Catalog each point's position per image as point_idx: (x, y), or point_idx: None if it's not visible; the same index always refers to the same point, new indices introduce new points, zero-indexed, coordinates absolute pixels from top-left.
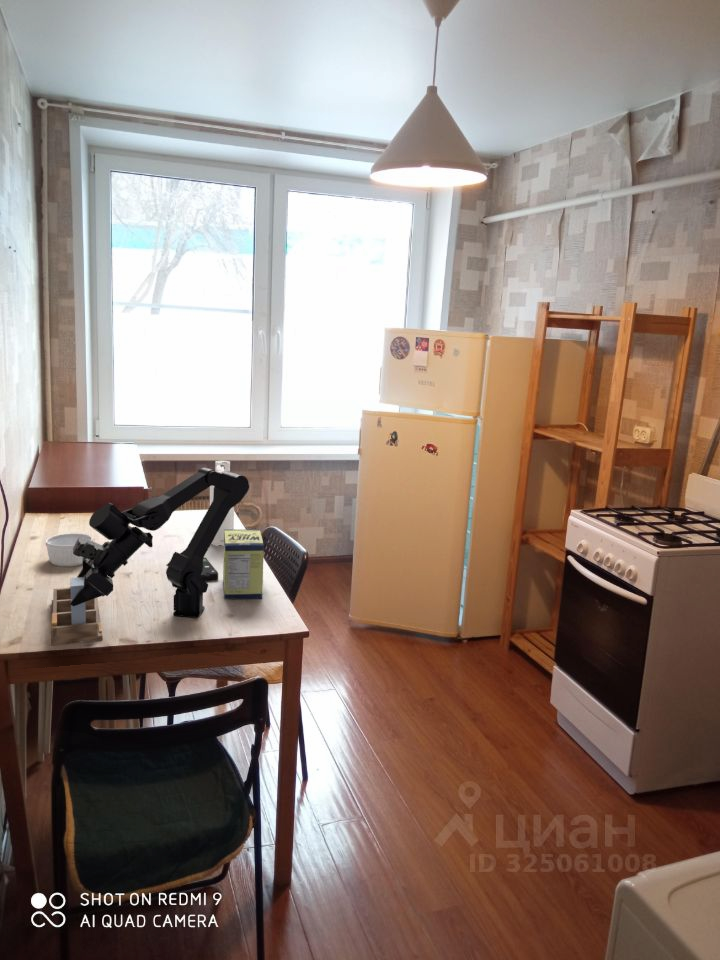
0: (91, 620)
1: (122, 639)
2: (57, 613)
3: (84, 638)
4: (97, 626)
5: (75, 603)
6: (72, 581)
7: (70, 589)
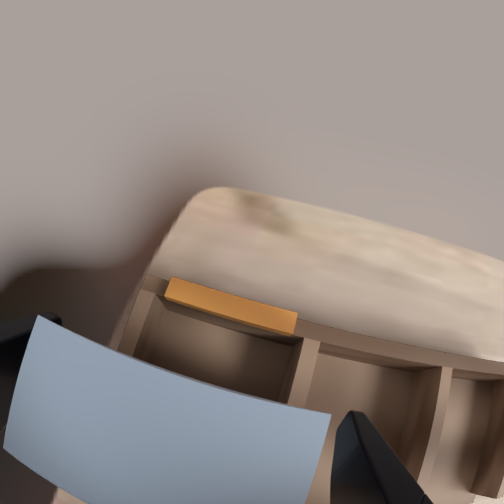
0: None
1: None
2: (309, 343)
3: None
4: None
5: None
6: (179, 403)
7: (348, 415)
